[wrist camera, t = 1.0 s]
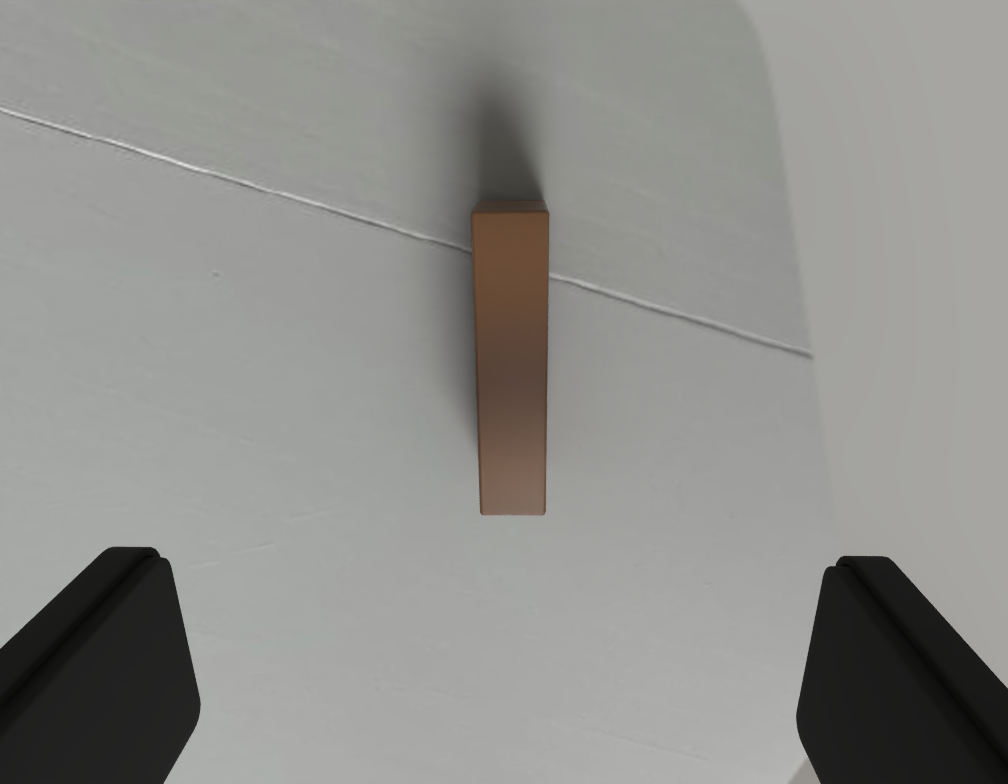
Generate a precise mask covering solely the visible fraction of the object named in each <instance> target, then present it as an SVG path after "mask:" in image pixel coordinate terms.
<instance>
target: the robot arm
mask: <svg viewBox="0 0 1008 784" xmlns="http://www.w3.org/2000/svg"><path fill="white" fill-rule="evenodd" d="M200 705H201V703H200V696H199V692H198V687H197V683H196V678H195V673H194V669H193V664H192V660H191V655H190V651H189V646H188V641H187V637H186V632H185V628H184V623H183V618H182V614H181V609H180V605H179V600H178V596H177V591H176V586H175V582H174V577H173V573H172V568H171V565H170V562H169V561H168V560H167V559H166V558H161V557H160V555H159V553H158V552H157V550H156V549H154V548H151V547H111V548H108V549H106V550H105V551H103V552H102V553H101V554H100V555H99V556H98V557H97V558H96V559H95V560H94V561H93V562H92V563H91V564H90V565H88V566H87V567H86V568H85V569H84V570H83V571H82V572H81V573H80V574H79V575H78V576H77V577H76V578H75V579H74V580H73V581H72V582H70V583H69V584H68V585H67V586H66V587H65V588H64V589H63V590H62V591H61V592H60V593H59V594H58V595H57V596H56V597H55V598H54V599H53V600H51V601H50V602H49V603H48V604H47V605H46V606H45V607H44V608H43V609H42V610H41V611H40V612H39V613H38V614H37V615H36V616H35V617H33V618H32V619H31V620H30V621H29V622H28V623H27V624H26V625H25V626H24V627H23V628H22V629H21V630H20V631H19V632H18V633H17V634H16V635H14V636H13V637H12V638H11V639H10V640H9V641H8V642H7V643H6V644H5V645H4V646H3V647H2V648H1V649H0V784H163V783H164V782H165V780H166V778H167V776H168V775H169V773H170V771H171V769H172V768H173V766H174V764H175V762H176V761H177V759H178V757H179V755H180V754H181V752H182V750H183V748H184V747H185V745H186V743H187V741H188V740H189V738H190V736H191V734H192V733H193V731H194V729H195V727H196V725H197V722H198V719H199V714H200ZM796 721H797V729H798V733H799V737H800V740H801V742H802V745H803V747H804V749H805V751H806V753H807V755H808V757H809V759H810V762H811V764H812V766H813V768H814V770H815V772H816V774H817V776H818V779H819V781H820V783H821V784H1008V688H1007V687H1006V686H1005V685H1004V684H1003V683H1002V682H1001V681H1000V680H999V679H998V678H997V676H996V675H995V674H994V673H993V672H992V671H991V670H990V668H988V666H987V665H986V664H985V663H984V662H983V661H982V660H981V658H980V657H979V656H978V655H977V654H976V653H975V652H974V651H973V650H972V649H971V647H970V646H969V645H968V644H967V643H966V642H965V641H964V640H963V638H962V637H961V636H960V635H959V634H958V633H957V632H956V631H955V630H954V629H953V627H952V626H951V625H950V624H949V623H948V622H947V621H946V620H945V618H944V617H943V616H942V615H941V614H940V613H939V612H938V611H937V610H936V609H935V607H934V606H933V605H932V604H931V603H930V602H929V601H928V600H927V598H926V597H925V596H924V595H923V594H922V593H921V592H920V591H919V590H918V589H917V587H916V586H915V585H914V584H913V583H912V582H911V581H910V580H909V578H908V577H907V576H906V575H905V574H904V573H903V572H902V571H901V570H900V569H899V567H898V566H897V565H896V564H895V563H894V562H893V561H892V560H891V559H889V558H888V557H883V556H843V557H840V558H839V560H838V561H837V563H836V566H830V567H827V569H826V570H825V572H824V575H823V580H822V585H821V590H820V595H819V600H818V605H817V611H816V616H815V621H814V626H813V631H812V636H811V641H810V646H809V651H808V656H807V661H806V666H805V672H804V677H803V682H802V687H801V692H800V697H799V702H798V707H797V714H796Z"/></svg>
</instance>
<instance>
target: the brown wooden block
mask: <svg viewBox="0 0 1008 784" xmlns="http://www.w3.org/2000/svg"><path fill="white" fill-rule="evenodd" d="M471 232H472V265H473V298H474V331H475V363H476V396H477V429H478V462H479V495H480V513H481V515H544V514H545V512H546V440H547V357H548V274H549V212H548V209H547V207H546V204H545V201H543V200H514V201H480V202H478V204H477V205H476V207H475V208H474V210H473V211H472V213H471Z"/></svg>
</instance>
